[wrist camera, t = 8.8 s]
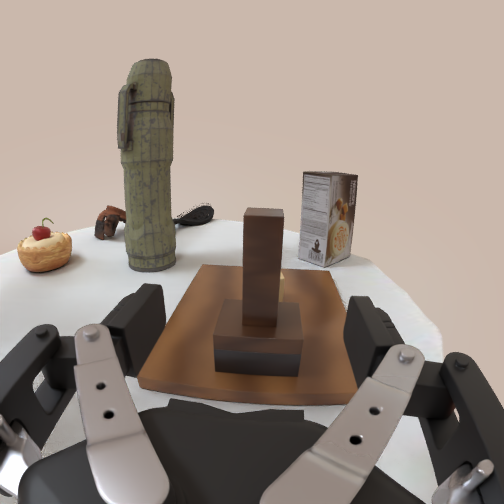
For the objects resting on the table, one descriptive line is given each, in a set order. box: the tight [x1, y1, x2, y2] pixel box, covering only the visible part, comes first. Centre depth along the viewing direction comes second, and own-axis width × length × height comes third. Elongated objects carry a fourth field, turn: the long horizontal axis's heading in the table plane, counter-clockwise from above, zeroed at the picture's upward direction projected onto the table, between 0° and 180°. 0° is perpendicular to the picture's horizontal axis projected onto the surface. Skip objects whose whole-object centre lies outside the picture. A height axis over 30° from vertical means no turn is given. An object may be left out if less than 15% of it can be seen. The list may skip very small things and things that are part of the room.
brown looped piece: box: [94, 206, 126, 240], centre depth 64 cm, size 12×10×8 cm
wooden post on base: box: [213, 208, 304, 377], centre depth 24 cm, size 7×6×13 cm
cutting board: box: [137, 264, 358, 405], centre depth 34 cm, size 20×26×2 cm
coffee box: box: [298, 172, 358, 267], centre depth 52 cm, size 9×6×16 cm
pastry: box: [17, 218, 72, 272], centre depth 45 cm, size 12×12×9 cm
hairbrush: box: [173, 206, 214, 225], centre depth 74 cm, size 8×4×25 cm
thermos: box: [117, 59, 176, 272], centre depth 44 cm, size 9×12×35 cm
